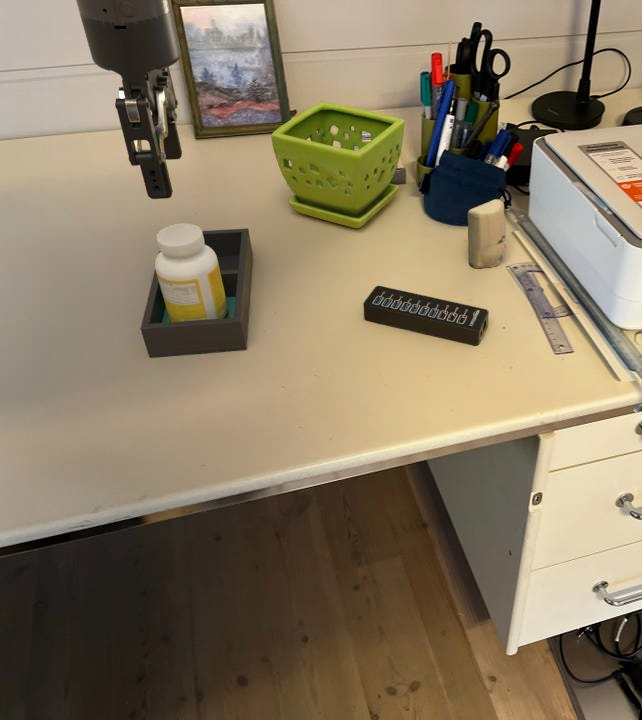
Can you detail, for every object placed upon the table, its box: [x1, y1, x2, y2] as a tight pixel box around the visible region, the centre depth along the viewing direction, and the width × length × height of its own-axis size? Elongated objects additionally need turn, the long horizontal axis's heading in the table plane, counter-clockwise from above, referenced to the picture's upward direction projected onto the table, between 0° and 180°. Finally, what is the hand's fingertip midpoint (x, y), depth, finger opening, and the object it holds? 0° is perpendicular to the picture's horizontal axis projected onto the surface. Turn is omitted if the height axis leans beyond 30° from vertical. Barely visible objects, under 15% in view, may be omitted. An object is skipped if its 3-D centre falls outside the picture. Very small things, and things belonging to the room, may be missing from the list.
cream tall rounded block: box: [467, 198, 507, 269], centre depth 99 cm, size 6×5×8 cm
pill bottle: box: [154, 222, 229, 322], centre depth 83 cm, size 6×6×12 cm
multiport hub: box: [362, 285, 490, 347], centre depth 90 cm, size 4×14×2 cm, turn 73°
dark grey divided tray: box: [140, 227, 254, 359], centre depth 90 cm, size 20×10×4 cm, turn 11°
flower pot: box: [270, 101, 405, 229], centre depth 106 cm, size 14×14×13 cm
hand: (166, 176), depth 76 cm, fingers open, 8 cm apart
